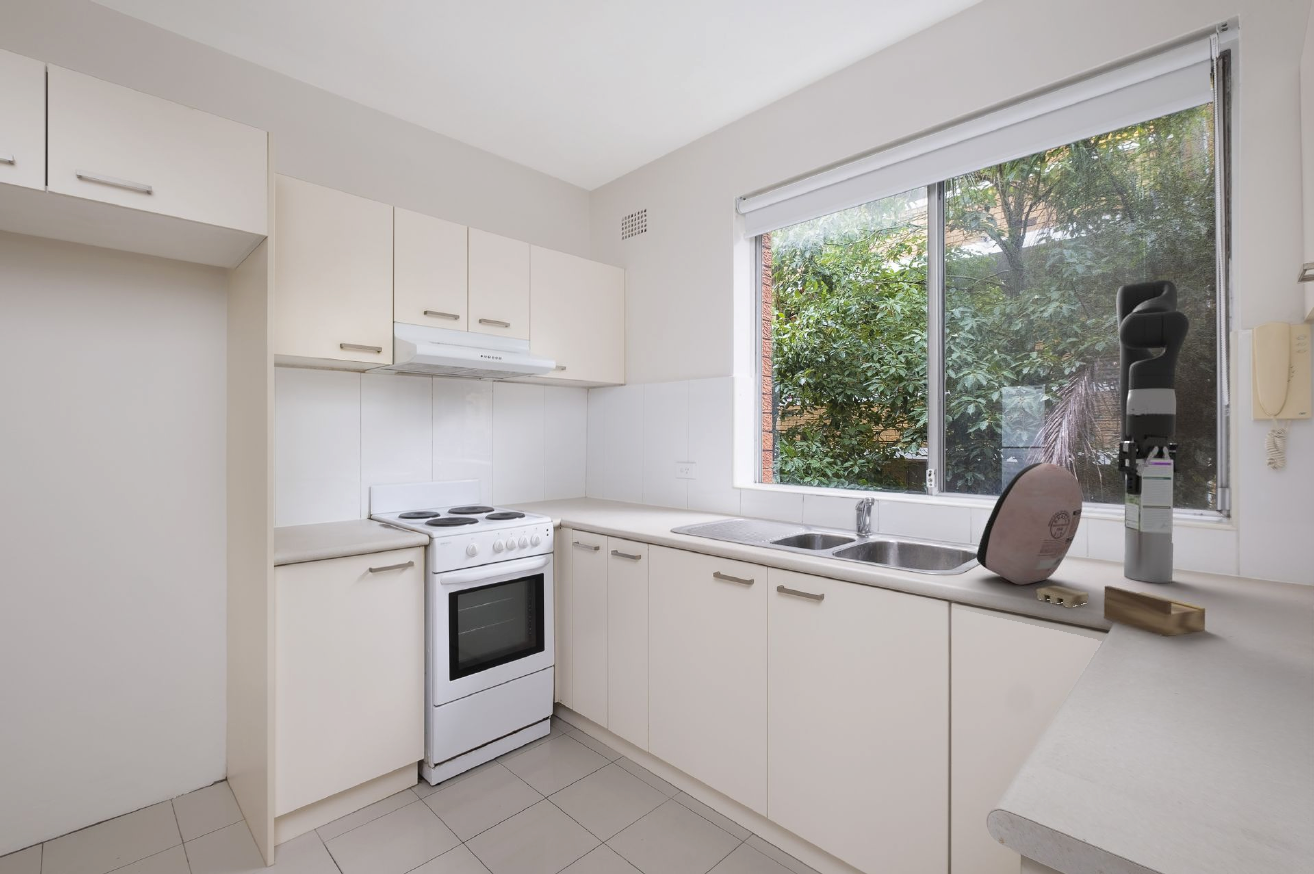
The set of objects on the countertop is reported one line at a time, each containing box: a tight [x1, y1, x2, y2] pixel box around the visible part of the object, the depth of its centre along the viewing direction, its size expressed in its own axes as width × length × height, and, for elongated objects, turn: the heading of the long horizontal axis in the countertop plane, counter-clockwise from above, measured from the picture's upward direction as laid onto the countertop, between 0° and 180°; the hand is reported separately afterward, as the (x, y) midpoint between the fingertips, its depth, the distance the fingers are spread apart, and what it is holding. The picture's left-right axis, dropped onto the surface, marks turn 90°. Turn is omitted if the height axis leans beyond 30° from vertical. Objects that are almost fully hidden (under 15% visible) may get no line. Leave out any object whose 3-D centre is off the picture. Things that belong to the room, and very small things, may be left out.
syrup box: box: [1124, 458, 1174, 534], centre depth 117 cm, size 6×6×14 cm
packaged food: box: [976, 461, 1083, 586], centre depth 145 cm, size 22×20×30 cm
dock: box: [1103, 585, 1206, 637], centre depth 115 cm, size 11×11×6 cm
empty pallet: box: [1036, 585, 1089, 609], centre depth 129 cm, size 7×7×2 cm
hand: (1148, 494), depth 117 cm, fingers closed on syrup box, 8 cm apart
